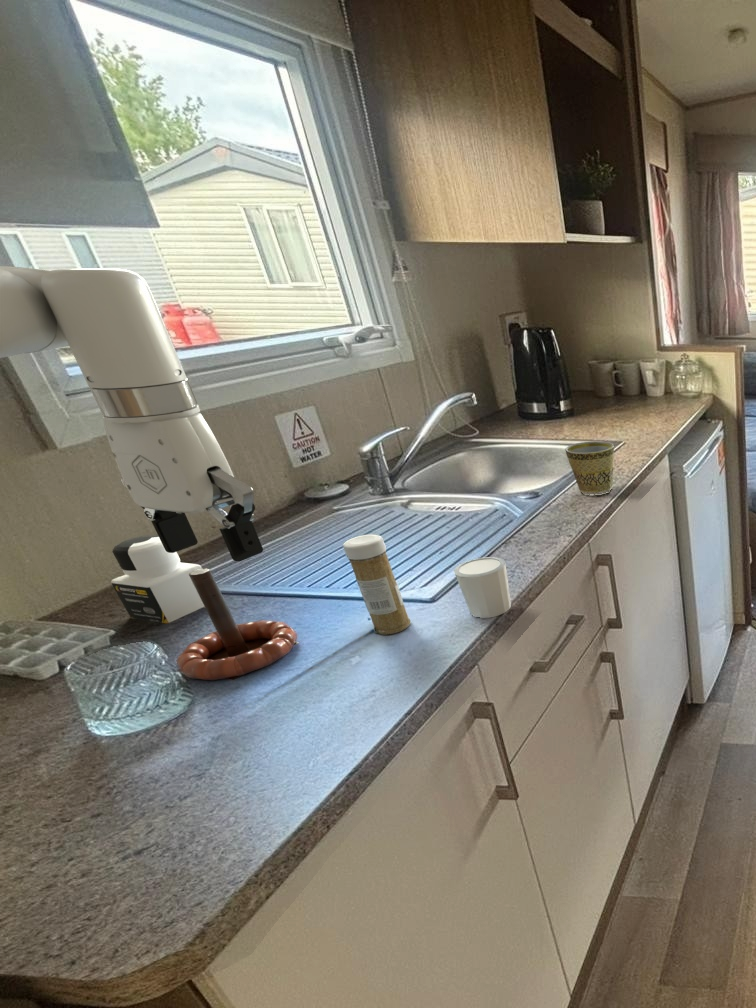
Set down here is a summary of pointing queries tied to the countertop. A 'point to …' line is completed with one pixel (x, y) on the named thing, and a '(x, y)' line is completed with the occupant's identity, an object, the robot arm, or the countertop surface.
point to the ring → (201, 668)
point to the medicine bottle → (154, 581)
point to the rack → (222, 618)
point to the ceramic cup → (592, 466)
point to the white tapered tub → (484, 586)
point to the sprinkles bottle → (377, 583)
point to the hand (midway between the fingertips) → (215, 552)
